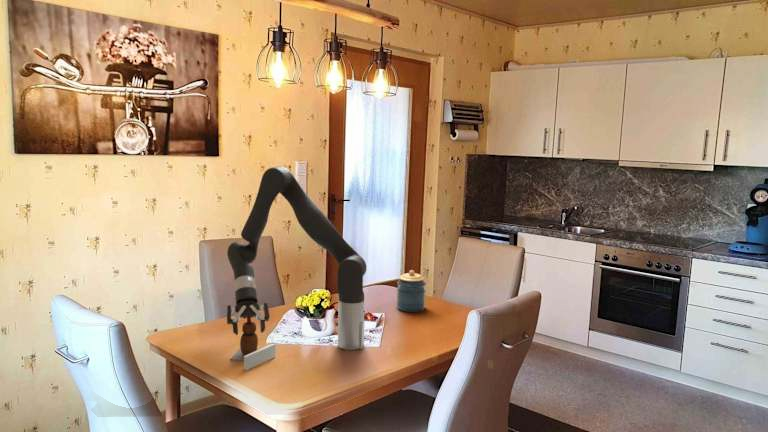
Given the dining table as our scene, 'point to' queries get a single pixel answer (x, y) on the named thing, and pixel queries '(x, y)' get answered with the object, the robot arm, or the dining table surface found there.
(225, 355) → the dining table surface
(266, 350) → the frosted wall
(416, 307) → the canister
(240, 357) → the slate coaster
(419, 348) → the dining table surface
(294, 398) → the dining table surface
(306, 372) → the dining table surface
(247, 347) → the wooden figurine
